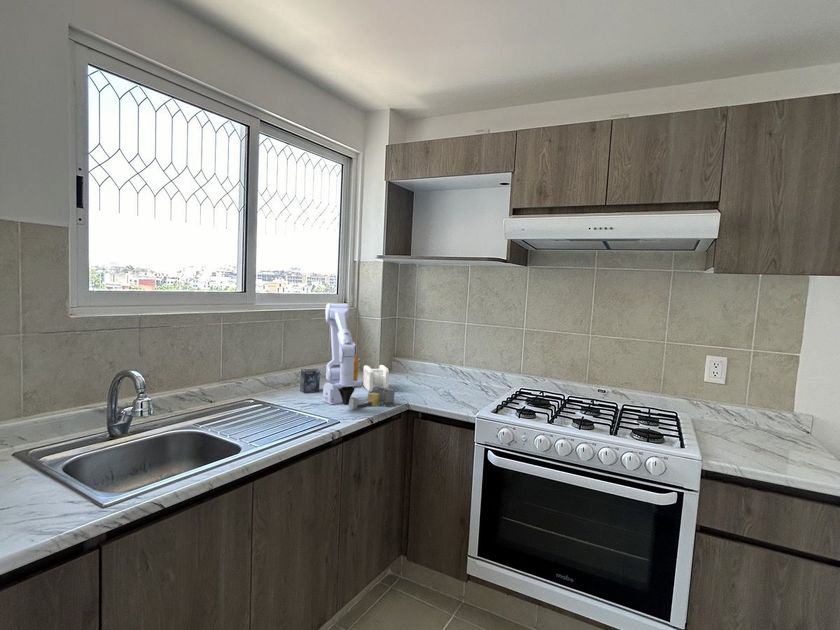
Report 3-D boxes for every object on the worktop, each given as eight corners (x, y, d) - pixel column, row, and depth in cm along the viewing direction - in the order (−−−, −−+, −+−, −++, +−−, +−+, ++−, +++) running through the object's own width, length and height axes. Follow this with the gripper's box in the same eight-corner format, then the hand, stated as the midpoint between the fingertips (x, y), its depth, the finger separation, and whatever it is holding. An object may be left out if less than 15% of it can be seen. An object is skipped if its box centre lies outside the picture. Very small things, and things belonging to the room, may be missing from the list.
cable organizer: (388, 392, 221) (389, 369, 220) (367, 393, 218) (368, 370, 217) (381, 385, 235) (382, 364, 234) (361, 386, 232) (362, 364, 231)
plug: (353, 410, 189) (354, 398, 188) (348, 408, 191) (349, 396, 191) (379, 404, 198) (380, 393, 198) (374, 403, 201) (375, 392, 201)
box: (303, 393, 212) (304, 371, 211) (299, 390, 216) (300, 369, 216) (319, 391, 216) (320, 370, 216) (315, 389, 221) (316, 368, 220)
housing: (388, 407, 195) (389, 392, 195) (369, 400, 205) (370, 386, 205) (397, 405, 199) (398, 391, 198) (378, 398, 209) (378, 385, 208)
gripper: (337, 376, 179) (336, 409, 180) (366, 372, 189) (365, 404, 190) (327, 373, 184) (326, 405, 185) (356, 369, 194) (355, 400, 195)
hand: (345, 404), depth 188 cm, fingers closed
